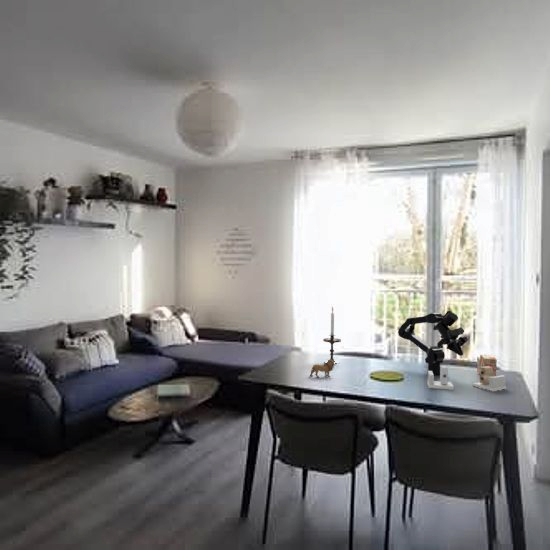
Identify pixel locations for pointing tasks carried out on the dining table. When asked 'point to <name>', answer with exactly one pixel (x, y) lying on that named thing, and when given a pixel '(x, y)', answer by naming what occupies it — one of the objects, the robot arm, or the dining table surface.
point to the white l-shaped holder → (493, 383)
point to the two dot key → (485, 374)
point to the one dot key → (443, 374)
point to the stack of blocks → (487, 362)
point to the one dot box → (437, 383)
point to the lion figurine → (323, 368)
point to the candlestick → (332, 336)
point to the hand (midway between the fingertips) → (461, 355)
